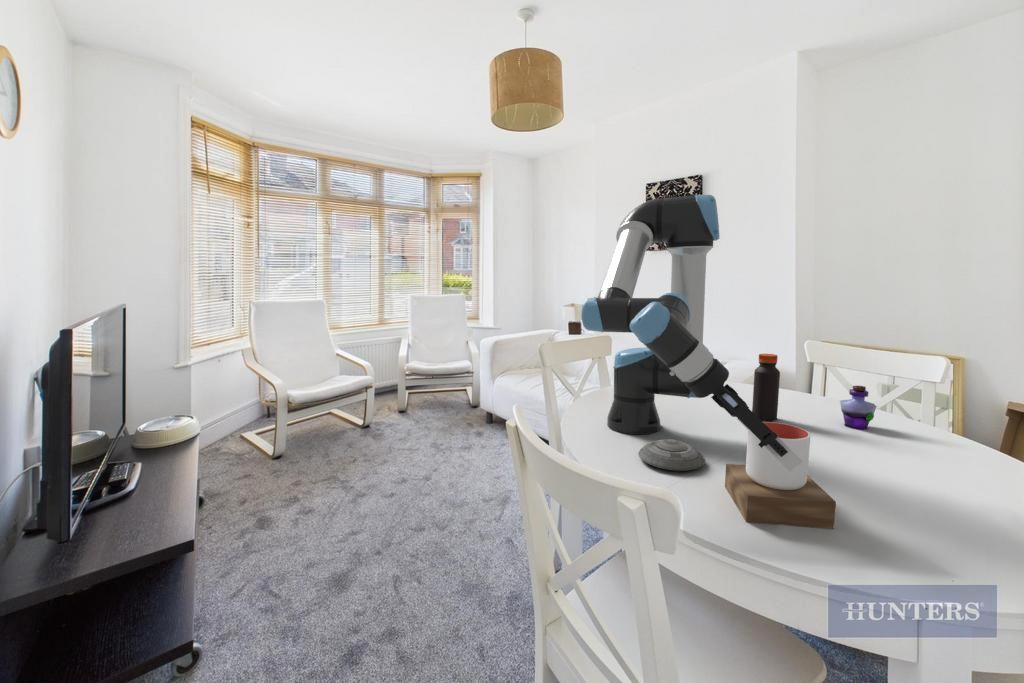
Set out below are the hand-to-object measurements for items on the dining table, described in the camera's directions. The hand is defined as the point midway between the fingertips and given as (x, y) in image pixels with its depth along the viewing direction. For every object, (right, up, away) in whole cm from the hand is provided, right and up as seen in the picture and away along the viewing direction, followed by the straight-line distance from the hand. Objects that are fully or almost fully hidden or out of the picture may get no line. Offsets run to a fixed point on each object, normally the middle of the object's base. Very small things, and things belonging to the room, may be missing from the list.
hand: (779, 451), depth 84 cm
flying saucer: (-12, -9, +23) cm, 28 cm away
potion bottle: (+49, -4, +45) cm, 67 cm away
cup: (0, -6, +1) cm, 6 cm away
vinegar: (+27, -3, +54) cm, 60 cm away
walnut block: (0, -11, +2) cm, 11 cm away
